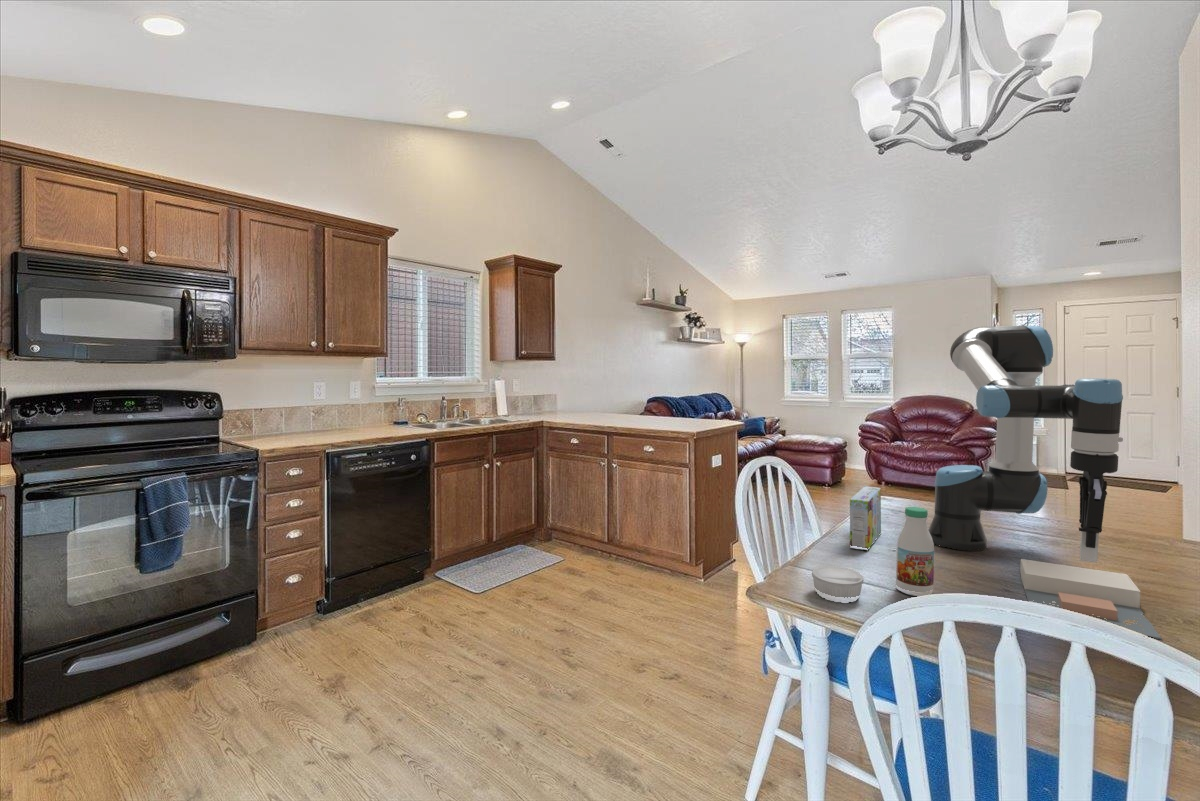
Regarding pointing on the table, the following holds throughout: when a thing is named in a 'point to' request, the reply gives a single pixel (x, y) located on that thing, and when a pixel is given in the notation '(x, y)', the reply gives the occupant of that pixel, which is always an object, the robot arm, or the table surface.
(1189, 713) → the table surface
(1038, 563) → the plate
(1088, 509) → the robot arm
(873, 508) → the snack box
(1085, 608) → the tile
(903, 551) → the milk bottle
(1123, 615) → the mat
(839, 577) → the ramekin
